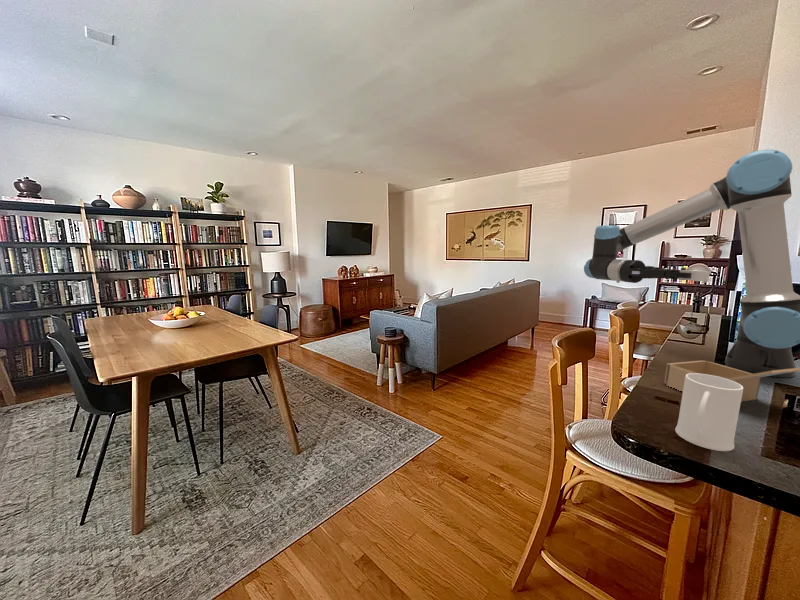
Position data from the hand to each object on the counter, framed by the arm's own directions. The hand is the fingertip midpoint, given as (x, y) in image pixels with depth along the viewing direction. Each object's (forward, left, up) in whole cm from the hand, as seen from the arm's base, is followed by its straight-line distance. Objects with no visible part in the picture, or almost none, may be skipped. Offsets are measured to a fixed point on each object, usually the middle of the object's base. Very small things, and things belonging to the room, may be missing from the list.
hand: (706, 276), depth 87 cm
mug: (+30, +22, -30) cm, 48 cm away
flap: (+2, +12, -24) cm, 27 cm away
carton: (+2, +6, -30) cm, 31 cm away
